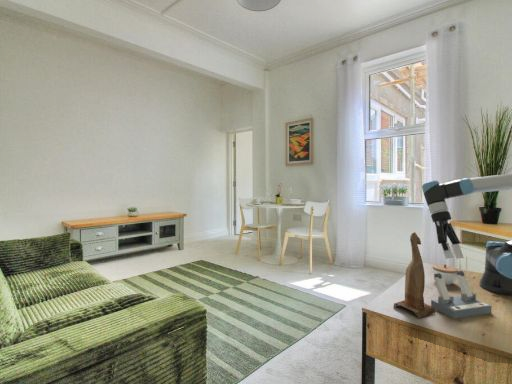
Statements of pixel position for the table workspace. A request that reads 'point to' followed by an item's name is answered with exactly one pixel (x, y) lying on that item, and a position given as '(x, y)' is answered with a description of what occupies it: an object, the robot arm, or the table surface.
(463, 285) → the marked lever
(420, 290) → the bird sculpture
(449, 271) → the lidded jar
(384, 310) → the table surface
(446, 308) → the switch unit
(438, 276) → the lever
